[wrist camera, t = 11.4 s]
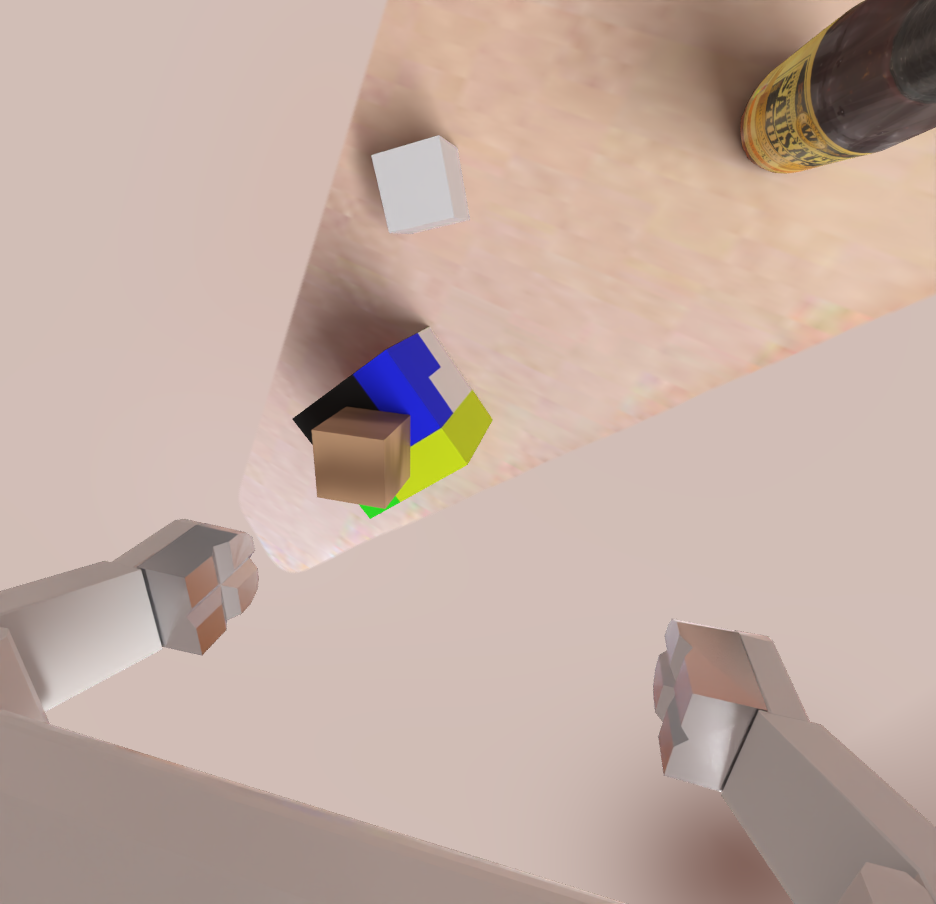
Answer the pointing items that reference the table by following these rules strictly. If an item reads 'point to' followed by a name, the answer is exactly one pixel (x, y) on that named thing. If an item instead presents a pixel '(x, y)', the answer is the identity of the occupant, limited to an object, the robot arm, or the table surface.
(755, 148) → the sauce bottle
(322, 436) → the walnut block
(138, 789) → the robot arm
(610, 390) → the table surface
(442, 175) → the grey block
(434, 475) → the puzzle toy
